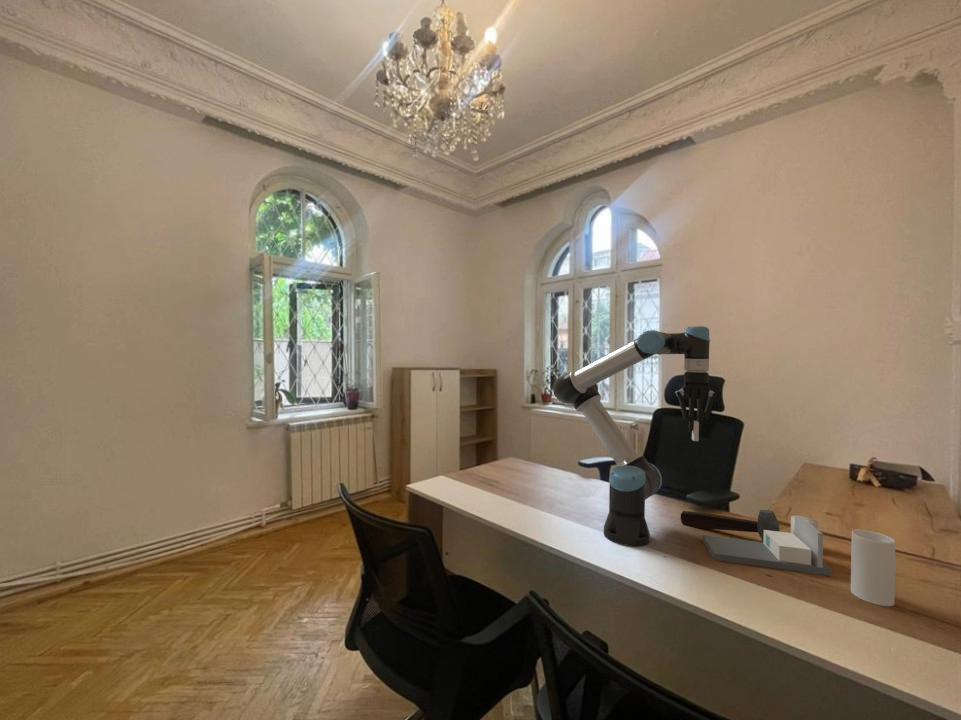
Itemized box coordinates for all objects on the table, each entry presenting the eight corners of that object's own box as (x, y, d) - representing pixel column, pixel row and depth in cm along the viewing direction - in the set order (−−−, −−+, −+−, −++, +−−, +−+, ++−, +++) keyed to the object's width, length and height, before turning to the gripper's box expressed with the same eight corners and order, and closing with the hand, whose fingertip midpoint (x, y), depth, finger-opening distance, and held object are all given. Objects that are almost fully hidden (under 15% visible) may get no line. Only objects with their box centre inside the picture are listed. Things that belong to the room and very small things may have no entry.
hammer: (681, 535, 150) (781, 549, 131) (678, 504, 151) (776, 513, 132) (684, 531, 154) (781, 544, 135) (681, 501, 154) (776, 509, 136)
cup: (842, 588, 109) (843, 529, 109) (869, 587, 110) (870, 529, 110) (874, 606, 101) (875, 543, 101) (903, 605, 101) (904, 542, 102)
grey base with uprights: (714, 559, 123) (714, 521, 124) (702, 540, 137) (702, 505, 137) (830, 576, 115) (831, 534, 115) (805, 553, 129) (806, 516, 129)
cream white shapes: (796, 549, 132) (797, 522, 132) (786, 540, 138) (787, 514, 138) (821, 552, 130) (822, 525, 130) (810, 543, 136) (811, 517, 136)
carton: (779, 560, 120) (779, 545, 120) (763, 543, 131) (763, 529, 131) (811, 565, 117) (811, 549, 117) (792, 547, 129) (792, 533, 129)
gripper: (677, 371, 135) (676, 441, 135) (721, 372, 132) (719, 443, 132) (673, 370, 142) (672, 437, 142) (714, 371, 139) (713, 439, 139)
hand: (695, 440), depth 137 cm, fingers closed
